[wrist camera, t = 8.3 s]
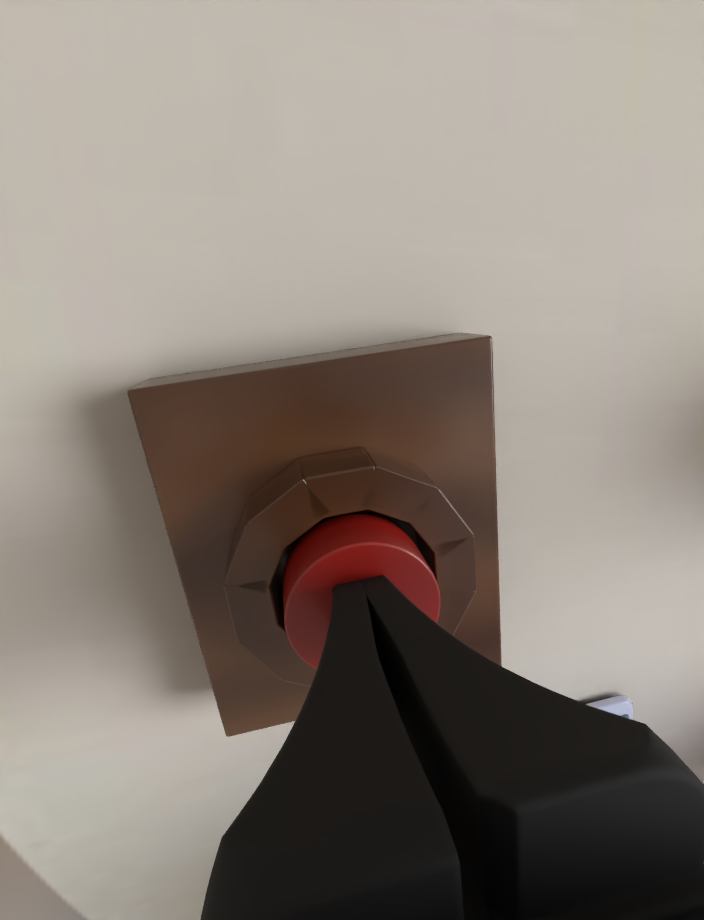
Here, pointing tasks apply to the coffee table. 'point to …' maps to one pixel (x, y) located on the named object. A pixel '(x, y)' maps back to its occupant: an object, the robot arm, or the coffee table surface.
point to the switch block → (321, 493)
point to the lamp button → (349, 574)
